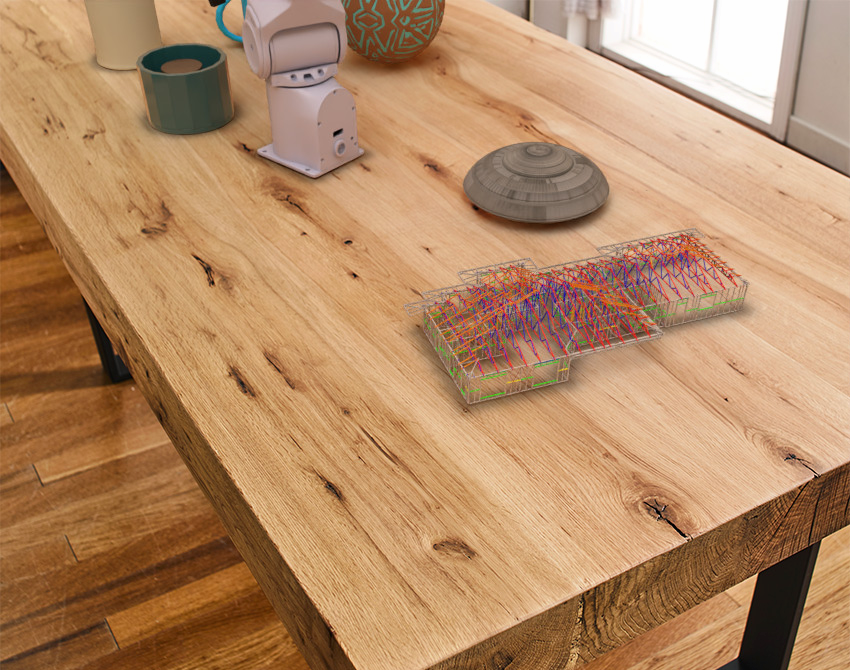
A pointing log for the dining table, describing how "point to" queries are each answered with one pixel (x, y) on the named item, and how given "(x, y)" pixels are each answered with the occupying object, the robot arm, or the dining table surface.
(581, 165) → the flying saucer
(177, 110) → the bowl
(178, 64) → the spool
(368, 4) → the decorative sphere
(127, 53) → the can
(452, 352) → the roof frame
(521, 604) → the dining table surface
